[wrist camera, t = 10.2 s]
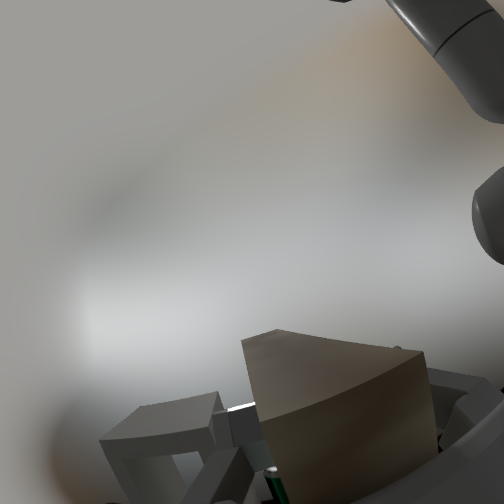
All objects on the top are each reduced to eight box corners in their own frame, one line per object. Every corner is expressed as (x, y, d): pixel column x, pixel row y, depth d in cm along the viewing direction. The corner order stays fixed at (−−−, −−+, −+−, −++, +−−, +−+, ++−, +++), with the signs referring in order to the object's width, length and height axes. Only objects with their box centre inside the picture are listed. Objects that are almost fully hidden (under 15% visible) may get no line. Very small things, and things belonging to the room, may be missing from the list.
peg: (287, 363, 25) (277, 329, 26) (439, 471, 4) (423, 351, 5) (252, 375, 25) (241, 340, 26) (305, 537, 4) (259, 422, 4)
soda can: (301, 528, 25) (280, 475, 28) (276, 521, 28) (253, 469, 31) (321, 509, 29) (304, 456, 31) (296, 504, 32) (277, 452, 35)
